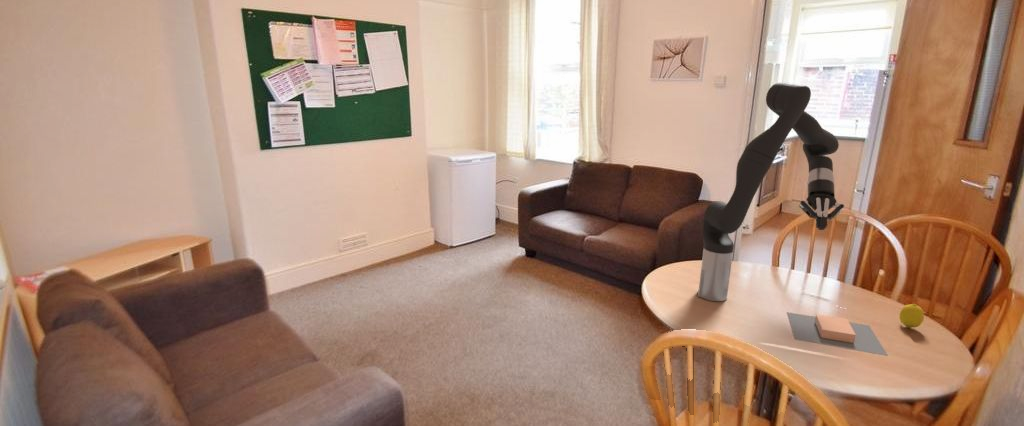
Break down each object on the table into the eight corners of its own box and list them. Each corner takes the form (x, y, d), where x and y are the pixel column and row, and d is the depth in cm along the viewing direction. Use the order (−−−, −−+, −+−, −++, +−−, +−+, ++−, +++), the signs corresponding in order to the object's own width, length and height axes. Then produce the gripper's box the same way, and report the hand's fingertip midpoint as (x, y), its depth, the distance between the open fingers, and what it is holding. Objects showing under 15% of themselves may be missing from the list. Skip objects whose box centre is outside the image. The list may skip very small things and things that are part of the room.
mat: (794, 341, 136) (794, 339, 136) (786, 313, 152) (786, 312, 152) (887, 357, 128) (888, 355, 128) (868, 327, 144) (869, 325, 144)
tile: (814, 322, 145) (820, 338, 136) (816, 314, 144) (822, 329, 136) (845, 327, 142) (853, 343, 133) (847, 319, 141) (855, 334, 133)
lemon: (914, 334, 140) (921, 309, 137) (893, 326, 144) (899, 302, 142) (924, 330, 142) (930, 305, 140) (902, 322, 147) (908, 298, 145)
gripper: (801, 176, 161) (800, 220, 153) (847, 179, 156) (849, 225, 148) (796, 188, 167) (795, 231, 159) (840, 192, 162) (842, 236, 154)
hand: (821, 228), depth 154 cm, fingers closed
